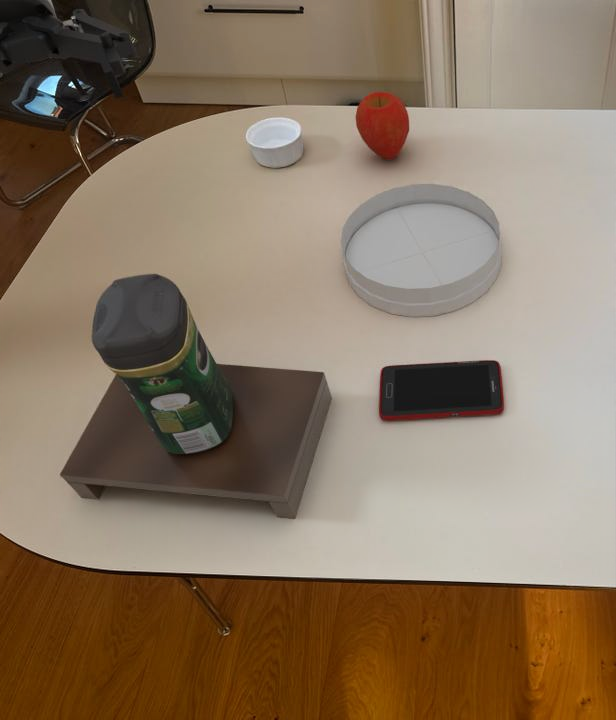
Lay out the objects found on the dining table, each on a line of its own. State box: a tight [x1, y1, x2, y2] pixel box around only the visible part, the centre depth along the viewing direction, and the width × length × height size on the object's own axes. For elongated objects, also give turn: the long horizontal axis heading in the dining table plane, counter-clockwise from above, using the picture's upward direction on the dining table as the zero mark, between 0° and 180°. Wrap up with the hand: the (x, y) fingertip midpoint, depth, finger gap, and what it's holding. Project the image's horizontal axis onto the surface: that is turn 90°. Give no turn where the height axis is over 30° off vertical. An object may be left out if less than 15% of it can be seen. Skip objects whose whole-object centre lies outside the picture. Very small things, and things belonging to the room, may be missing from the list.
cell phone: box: [378, 359, 505, 421], centre depth 84 cm, size 8×15×1 cm, turn 93°
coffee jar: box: [91, 273, 233, 454], centre depth 70 cm, size 10×8×19 cm
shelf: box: [59, 363, 333, 519], centre depth 79 cm, size 24×16×5 cm, turn 83°
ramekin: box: [245, 117, 304, 169], centre depth 115 cm, size 9×9×4 cm
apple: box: [355, 91, 410, 161], centre depth 112 cm, size 9×8×11 cm
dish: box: [340, 183, 503, 318], centre depth 98 cm, size 22×22×5 cm
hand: (41, 103), depth 68 cm, fingers open, 13 cm apart
